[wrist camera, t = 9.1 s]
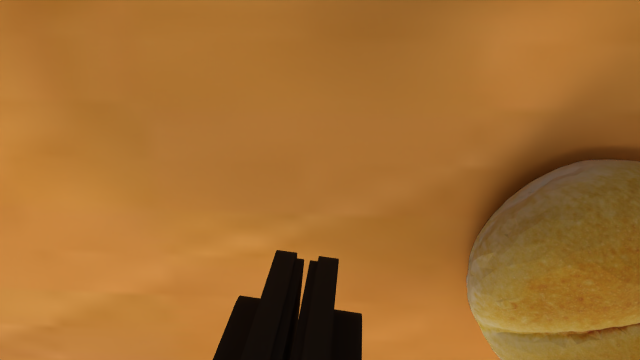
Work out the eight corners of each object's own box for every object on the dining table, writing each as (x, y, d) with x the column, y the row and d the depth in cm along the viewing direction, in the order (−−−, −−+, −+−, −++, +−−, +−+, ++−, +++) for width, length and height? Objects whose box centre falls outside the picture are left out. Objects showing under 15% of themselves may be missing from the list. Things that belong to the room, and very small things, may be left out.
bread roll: (694, 113, 13) (823, 162, 9) (713, 326, 16) (815, 426, 12) (430, 195, 15) (449, 260, 11) (492, 367, 18) (522, 463, 14)
